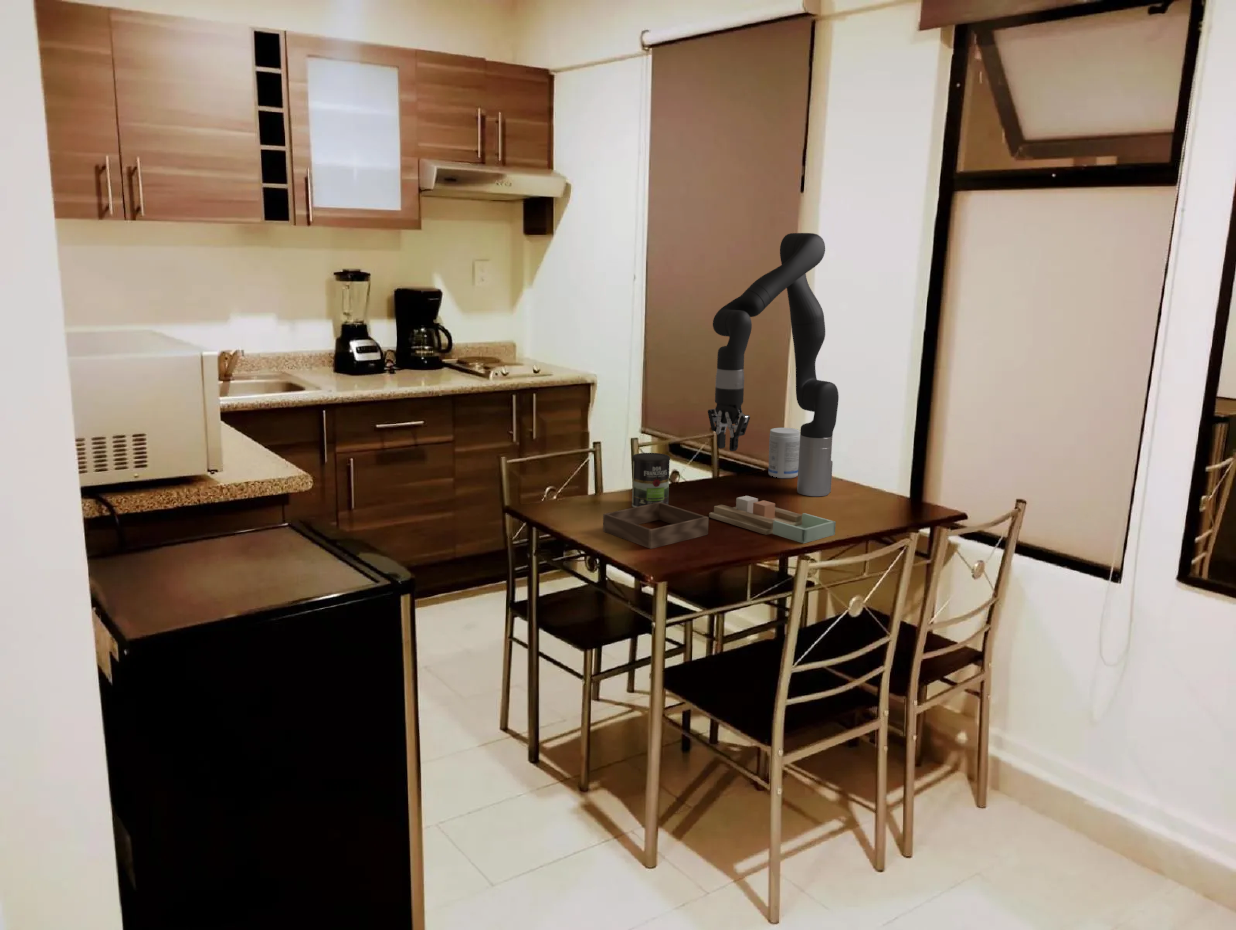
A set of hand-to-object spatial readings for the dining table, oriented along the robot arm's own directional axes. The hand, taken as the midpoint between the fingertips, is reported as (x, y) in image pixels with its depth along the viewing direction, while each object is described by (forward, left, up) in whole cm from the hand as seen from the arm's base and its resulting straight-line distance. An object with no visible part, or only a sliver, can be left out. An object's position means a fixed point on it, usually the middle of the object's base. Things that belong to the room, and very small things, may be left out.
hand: (727, 449), depth 254 cm
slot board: (0, +12, -17) cm, 21 cm away
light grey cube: (0, +8, -16) cm, 18 cm away
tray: (0, +28, -17) cm, 32 cm away
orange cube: (0, +14, -16) cm, 21 cm away
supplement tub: (-45, -18, -17) cm, 51 cm away
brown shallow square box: (+29, +4, -17) cm, 34 cm away
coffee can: (+13, -16, -17) cm, 27 cm away
